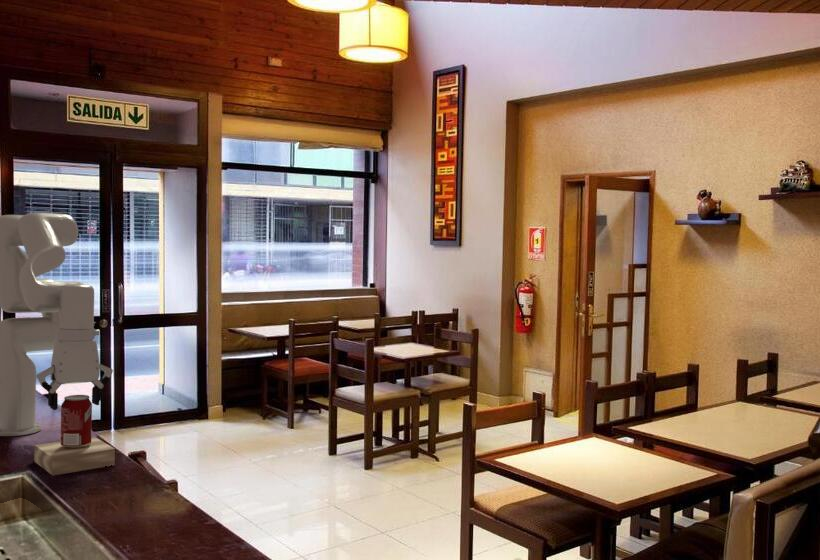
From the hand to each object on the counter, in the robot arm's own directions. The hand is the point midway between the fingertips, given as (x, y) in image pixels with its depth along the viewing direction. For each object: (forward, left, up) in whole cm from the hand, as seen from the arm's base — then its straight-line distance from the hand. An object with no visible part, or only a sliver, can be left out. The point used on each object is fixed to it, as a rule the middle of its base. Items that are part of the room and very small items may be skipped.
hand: (75, 406), depth 177 cm
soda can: (0, 0, -10) cm, 10 cm away
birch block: (0, 0, -14) cm, 14 cm away
